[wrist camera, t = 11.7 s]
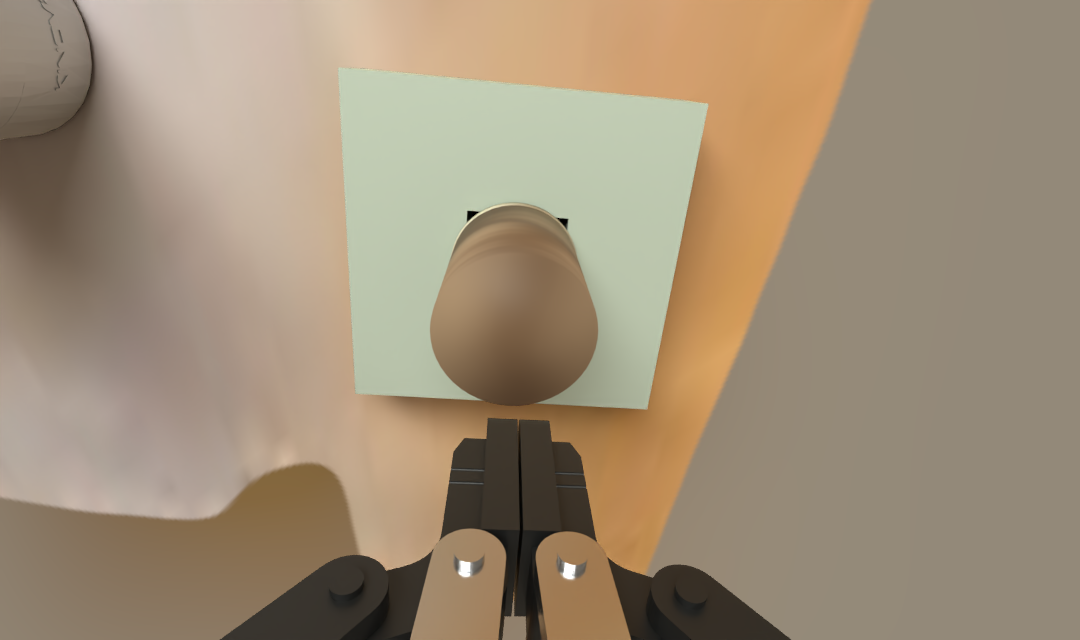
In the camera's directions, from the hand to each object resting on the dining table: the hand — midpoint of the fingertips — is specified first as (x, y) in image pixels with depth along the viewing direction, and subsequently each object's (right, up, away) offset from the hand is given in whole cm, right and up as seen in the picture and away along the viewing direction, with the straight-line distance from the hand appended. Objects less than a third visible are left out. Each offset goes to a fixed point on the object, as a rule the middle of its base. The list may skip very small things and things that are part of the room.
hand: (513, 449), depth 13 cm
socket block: (-1, +8, +17) cm, 19 cm away
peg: (-1, +7, +17) cm, 18 cm away
